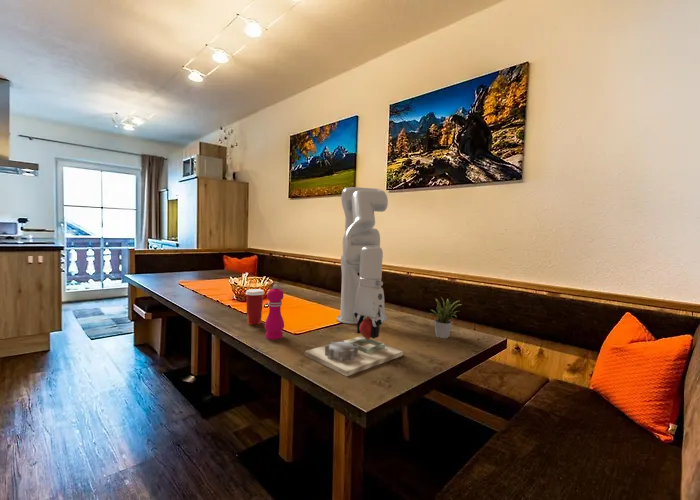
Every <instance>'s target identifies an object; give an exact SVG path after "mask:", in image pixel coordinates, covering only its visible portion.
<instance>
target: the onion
mask: <svg viewBox="0 0 700 500" xmlns="http://www.w3.org/2000/svg"><path fill="white" fill-rule="evenodd" d="M372 326H373V323H372V319H371V318H370V317H367V316H366V318H364V320H363V321H362V322H361V324H360V327H359V330H360V333H359V334H361V336H362V337H365V338H366V339H372V338H371V328H372Z"/></svg>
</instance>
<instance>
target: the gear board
mask: <svg viewBox="0 0 700 500" xmlns="http://www.w3.org/2000/svg"><path fill="white" fill-rule="evenodd" d="M403 355H404V351H403V350H400V349H398V348H396V347H392V346H389V345H387V344H386V343H383V342H381V341H378V340H375V339H374V338H370V339H366V338H365V337H364V336H362V335H359V336H356V337H352V338H348V339H344V340H340V341H329V343H328V344H325V345H321V346H318V347H315V348H311V349H308V350H305V351H304V356H305V357H307V358H309V359H311V360H313V361H315V362H317V363H319V364H321V365H322V366H325V367H327V368H328V369H330V370H333V371H335V372H337V373H339V374H341V375H343V376H345V377H348V376H352V375H355V374H357V373H360V372H362V371H366V370H368V369H371V368H374V367H377V366H380V365H382V364H384V363H387V362H390V361H391V360H392V361H393V360H394V359H398V358H400V357H402V356H403Z"/></svg>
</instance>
